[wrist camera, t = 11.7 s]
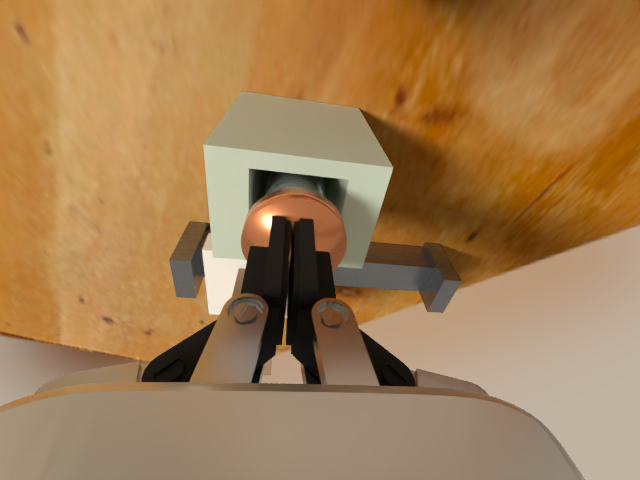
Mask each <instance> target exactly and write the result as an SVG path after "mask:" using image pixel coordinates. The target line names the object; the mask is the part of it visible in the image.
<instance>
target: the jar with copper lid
mask: <svg viewBox="0 0 640 480" xmlns="http://www.w3.org/2000/svg"><path fill="white" fill-rule="evenodd" d="M272 216H283V217H286V219H285V220H288V221H291V224H290V252H289V265H290V256H291V247H292V239H293V230H294V222H295V221H299V222H300V218H305V219H313V221H314V234H315V248H316V251H326V252H330V256H331V264H332V271H333V270H335V269H336V267H337V266H338V265H339V264H340V263H341V261H342V259H343V257H344V255H345V252H346V248H347V238H346V232H345V227H344V222H343V219H342V216H341V214H340V212H339V210H338V209H337V208H336V206H335V205H334V204H333V203H332V202H331V201H330V200H328V199H327V198H326V190H325V183H324V178H323V177H321V176H312V175H303V174H294V173H285V172H277V171H271V172H270V174H269V176H268V180H267V185H266V191H265V196H263V197H262V198H260V199H259V200H258V201H257V202H256V203H255V204H254V205H253V206H252V207H251V209H250V210H249V212H248V214H247V216H246V220H245V223H244V227H243V231H242V235H241V249H242V252H243V255H244V257H245V259H246V261H247V259H248V254H249V249H250V246H261V247H268V246H269V238H270V230H271V222H272Z"/></svg>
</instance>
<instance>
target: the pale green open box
mask: <svg viewBox="0 0 640 480" xmlns="http://www.w3.org/2000/svg"><path fill="white" fill-rule="evenodd" d="M203 146H204V158H205V170H206V181H207V193H208V205H209V217H210V229H211V241H212V252H213V257H214V258H228V259H241V260H246V259H245V257H244V255H243V252H242V249H241V235H242V231H243V227H244V223H245V220H246V216H247V214H248V212H249V210H250V209H251V207H252V206H253V205H254V204H255V203H256V202H257V201H258V200H259V199H260V198H262V197H263V196H265V191H266V185H267V180H268V176H269V174H270V172H271V171H277V172H285V173H294V174H303V175H312V176H321V177H323V178H324V183H325V190H326V198H327V199H328V200H330V201H331V202H332V203H333V204H334V205H335V206H336V208H337V209H338V210H339V212H340V214H341V216H342V219H343V222H344V227H345V232H346V238H347V248H346V252H345V255H344V257H343V259H342V261H341V263H340V264H339V265H338V266H337V267H346V268H359V269H362V267H363V264H364V261H365V258H366V254H367V251H368V248H369V245H370V242H371V238H372V235H373V232H374V229H375V226H376V222H377V219H378V216H379V213H380V209H381V206H382V203H383V200H384V197H385V193H386V190H387V187H388V184H389V180H390V177H391V174H392V171H393V166H392V164H391V163H390V161H389V159H388V158H387V156H386V154H385V152H384V151H383V149H382V147H381V146H380V144H379V142H378V140H377V139H376V137H375V135H374V134H373V132H372V130H371V128H370V127H369V125H368V123H367V121H366V120H365V118H364V116H363V115H362V113H361V111H360V109H359V108H355V107H348V106H341V105H334V104H327V103H320V102H314V101H307V100H300V99H293V98H286V97H279V96H272V95H265V94H259V93H252V92H245V91H241V93H240V94H239V96H238V97H237V98H236V100H235V101H234V103H233V104H232V105H231V107H230V108H229V110H228V111H227V112H226V114H225V115H224V117H223V118H222V119H221V121H220V122H219V123H218V125H217V126H216V128H215V129H214V130H213V132H212V133H211V135H210V136H209V137H208V139H207V140H206V142H205V143H204V144H203Z"/></svg>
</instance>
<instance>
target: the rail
mask: <svg viewBox="0 0 640 480" xmlns="http://www.w3.org/2000/svg"><path fill="white" fill-rule="evenodd" d="M209 233H211V229H210V228H208V225H207V223H199V222H189V223H188V225H187V227H186V229H185V231H184V233H183V235H182V237H181V238H180V240H179V242H178V244H177V246H176V248H175V250H174V252H173V254H172V256H171V258H170V259H169V261H170V266H171V271H172V276H173V281H174V286H175V291H176V296H177V297H185V298H196V297H197V294H198V291H199V289H200V286H201V283H202V280H203V277H205V272H204V263H203V254H202V249H203V246H204V244H205V241H206V239H207V236H208V234H209ZM333 279H334V285H335V286H350V287H364V288H379V289H394V290H409V291H419V293H420V295H421V298H422V300H423V302H424V304H425V307H426V309H427V312H441V313H443V312H444V310H445V308H446V307H447V305H448V303H449V302H450V300H451V298H452V297H453V295H454V293H455V292H456V290H457V288H458V287H459V285H460V283H461V282H462V281H461V279H460V278H459V276H458V274H457V272H456V271H455V269H454V267H453V266H452V264H451V262H450V261H449V259H448V257H447V256H446V254H445V252H444V250H443V249H442V247H441V245H440V244H434V243H425V244H424V246H423V247H420V246H408V245H397V244H386V243H374V242H370V245H369V248H368V251H367V254H366V258H365V261H364V264H363V267H362V269H359V268H346V267H336V269H335V270H333Z"/></svg>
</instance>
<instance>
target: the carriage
mask: <svg viewBox="0 0 640 480" xmlns="http://www.w3.org/2000/svg"><path fill="white" fill-rule="evenodd" d="M202 254H203V263H204V272H205V281H206V290H207V299H208V308H209V314H216V315H220V313H221V310H222V308H223V306H224V305H225V303H226V302H227V301H228V300H229V299H230V298H231V297H233V296H236V295H238V294H240V293H241V288H242V283H243V278H244V274H245V269H246V264H247V261H246V260H241V259H228V258H214V257H213V252H212V241H211V233H209V234H208V236H207V239H206V241H205V244H204V246H203V249H202ZM287 301H288V295H287ZM285 318H287V303H286V312H285ZM271 363H272V358H271V359H270V360H268V361H267V362H266V363H265V366H264V371H263V375H271Z"/></svg>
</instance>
